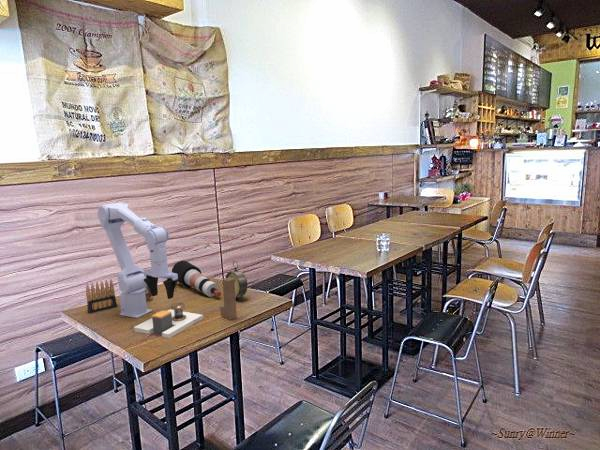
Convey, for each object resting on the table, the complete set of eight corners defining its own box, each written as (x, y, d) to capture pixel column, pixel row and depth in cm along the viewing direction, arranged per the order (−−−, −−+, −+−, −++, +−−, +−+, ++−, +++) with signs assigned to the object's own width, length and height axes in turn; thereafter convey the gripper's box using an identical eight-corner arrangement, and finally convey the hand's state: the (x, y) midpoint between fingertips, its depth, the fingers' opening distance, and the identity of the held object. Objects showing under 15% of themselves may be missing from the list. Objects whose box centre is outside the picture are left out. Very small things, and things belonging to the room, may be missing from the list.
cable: (215, 310, 181) (204, 293, 175) (177, 285, 205) (167, 269, 200) (233, 295, 185) (223, 277, 180) (194, 272, 210) (185, 256, 205)
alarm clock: (225, 297, 183) (222, 260, 180) (236, 294, 187) (233, 257, 184) (240, 303, 175) (237, 264, 172) (250, 299, 179) (248, 261, 176)
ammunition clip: (115, 305, 178) (112, 277, 176) (117, 307, 177) (113, 278, 175) (87, 312, 172) (83, 283, 170) (88, 314, 170) (85, 284, 168)
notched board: (134, 331, 152) (133, 327, 152) (170, 312, 168) (169, 309, 168) (168, 338, 145) (168, 334, 145) (203, 318, 161) (202, 314, 161)
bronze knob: (169, 320, 157) (167, 307, 156) (178, 315, 161) (177, 302, 160) (179, 322, 155) (178, 308, 154) (189, 316, 159) (187, 304, 158)
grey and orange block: (153, 333, 149) (152, 315, 148) (164, 327, 154) (162, 310, 153) (162, 335, 148) (160, 316, 147) (172, 329, 152) (171, 311, 151)
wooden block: (237, 317, 160) (234, 278, 158) (229, 320, 158) (226, 280, 156) (228, 313, 165) (225, 275, 163) (220, 315, 163) (217, 277, 160)
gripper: (182, 259, 156) (185, 295, 159) (152, 256, 162) (155, 291, 165) (168, 264, 150) (172, 302, 152) (137, 261, 156) (141, 297, 159)
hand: (162, 296), depth 158 cm, fingers open, 7 cm apart
